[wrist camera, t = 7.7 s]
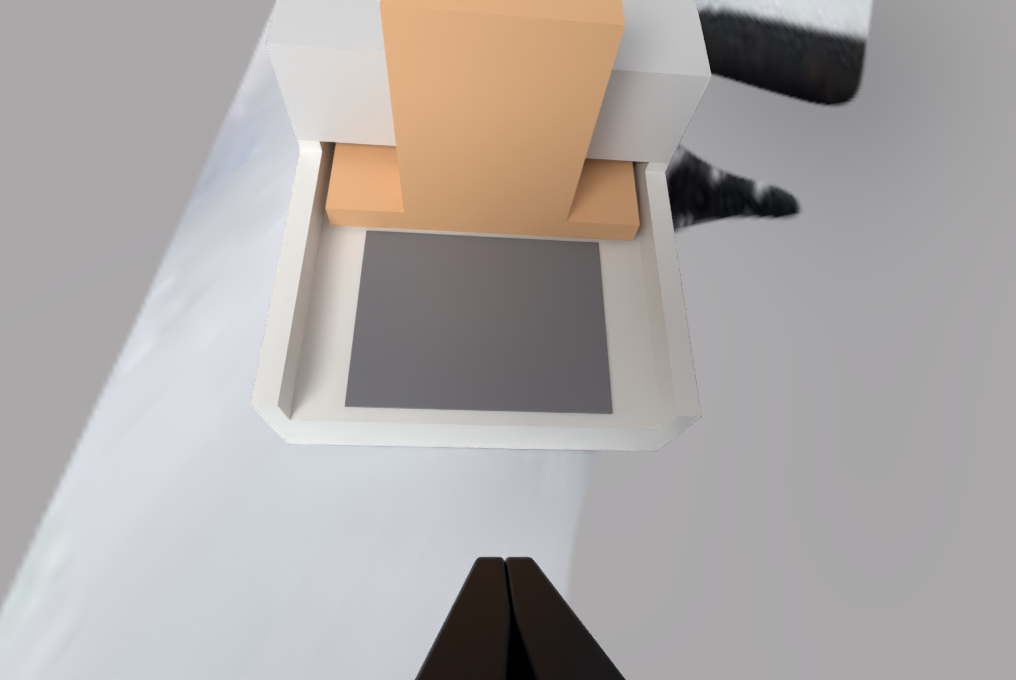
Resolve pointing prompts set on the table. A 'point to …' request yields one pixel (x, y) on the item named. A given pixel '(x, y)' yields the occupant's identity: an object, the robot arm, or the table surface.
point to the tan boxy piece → (492, 123)
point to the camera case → (477, 271)
